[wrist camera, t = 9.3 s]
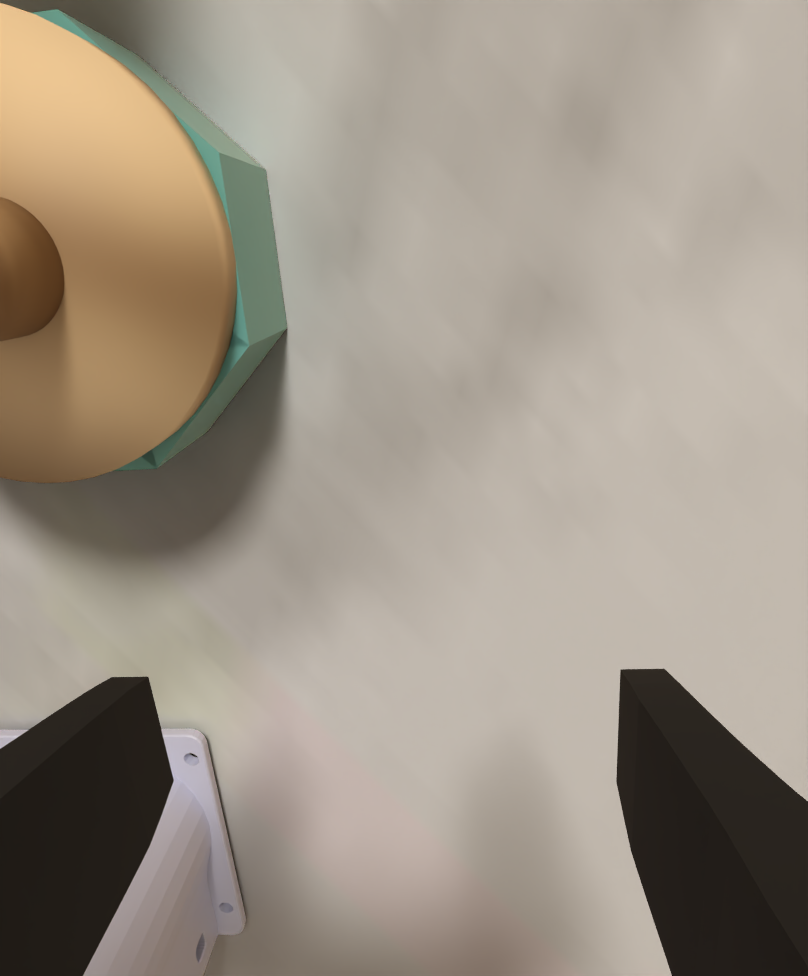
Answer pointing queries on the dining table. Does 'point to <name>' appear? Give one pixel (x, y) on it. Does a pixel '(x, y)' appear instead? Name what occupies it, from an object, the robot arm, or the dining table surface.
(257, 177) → the bowl
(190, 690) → the dining table surface
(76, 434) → the lid
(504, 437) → the dining table surface
